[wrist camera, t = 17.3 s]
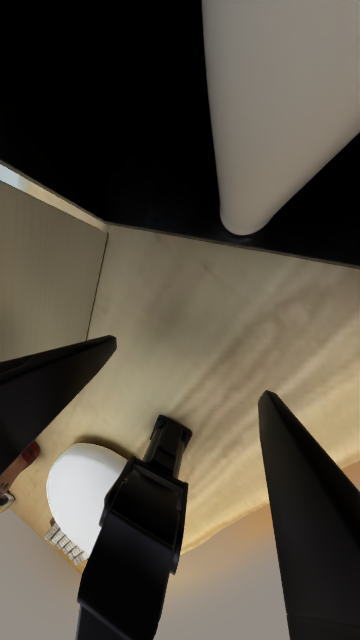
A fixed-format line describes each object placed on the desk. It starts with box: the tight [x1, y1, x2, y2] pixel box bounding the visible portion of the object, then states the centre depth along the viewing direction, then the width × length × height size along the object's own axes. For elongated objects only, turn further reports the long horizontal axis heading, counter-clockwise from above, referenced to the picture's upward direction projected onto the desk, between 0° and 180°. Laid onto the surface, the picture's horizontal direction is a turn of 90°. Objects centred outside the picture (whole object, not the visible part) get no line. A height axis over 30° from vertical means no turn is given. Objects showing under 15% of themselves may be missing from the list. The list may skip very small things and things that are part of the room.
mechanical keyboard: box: [45, 517, 90, 565], centre depth 41 cm, size 38×19×3 cm, turn 147°
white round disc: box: [46, 443, 128, 555], centre depth 30 cm, size 28×6×27 cm
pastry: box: [0, 492, 15, 513], centre depth 53 cm, size 9×7×4 cm
